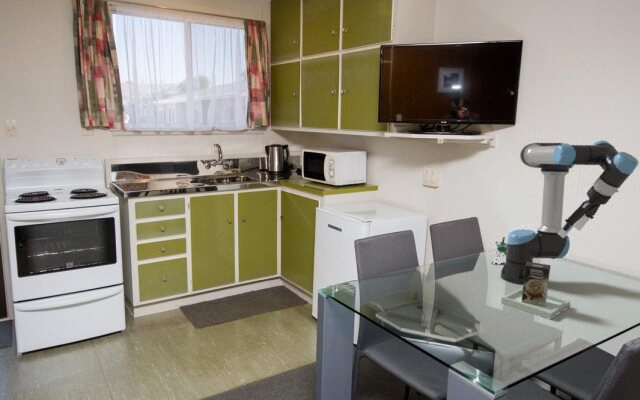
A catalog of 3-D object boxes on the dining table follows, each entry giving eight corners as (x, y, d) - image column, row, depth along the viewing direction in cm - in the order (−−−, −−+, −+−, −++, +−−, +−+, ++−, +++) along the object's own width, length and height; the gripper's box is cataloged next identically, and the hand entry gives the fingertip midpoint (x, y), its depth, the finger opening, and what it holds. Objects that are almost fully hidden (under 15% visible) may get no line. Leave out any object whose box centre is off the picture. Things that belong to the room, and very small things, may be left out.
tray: (501, 302, 192) (501, 297, 192) (522, 292, 203) (522, 287, 203) (550, 319, 177) (550, 313, 177) (569, 307, 188) (570, 301, 188)
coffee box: (521, 302, 190) (524, 265, 187) (522, 297, 196) (526, 260, 193) (545, 307, 186) (549, 269, 183) (546, 301, 191) (550, 264, 188)
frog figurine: (519, 260, 247) (521, 235, 243) (500, 270, 237) (501, 244, 233) (503, 256, 255) (504, 230, 251) (484, 265, 245) (484, 239, 241)
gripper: (596, 202, 162) (561, 245, 174) (624, 191, 177) (591, 231, 189) (578, 189, 166) (545, 232, 179) (607, 179, 181) (575, 219, 193)
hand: (568, 232), depth 184 cm, fingers open, 13 cm apart
